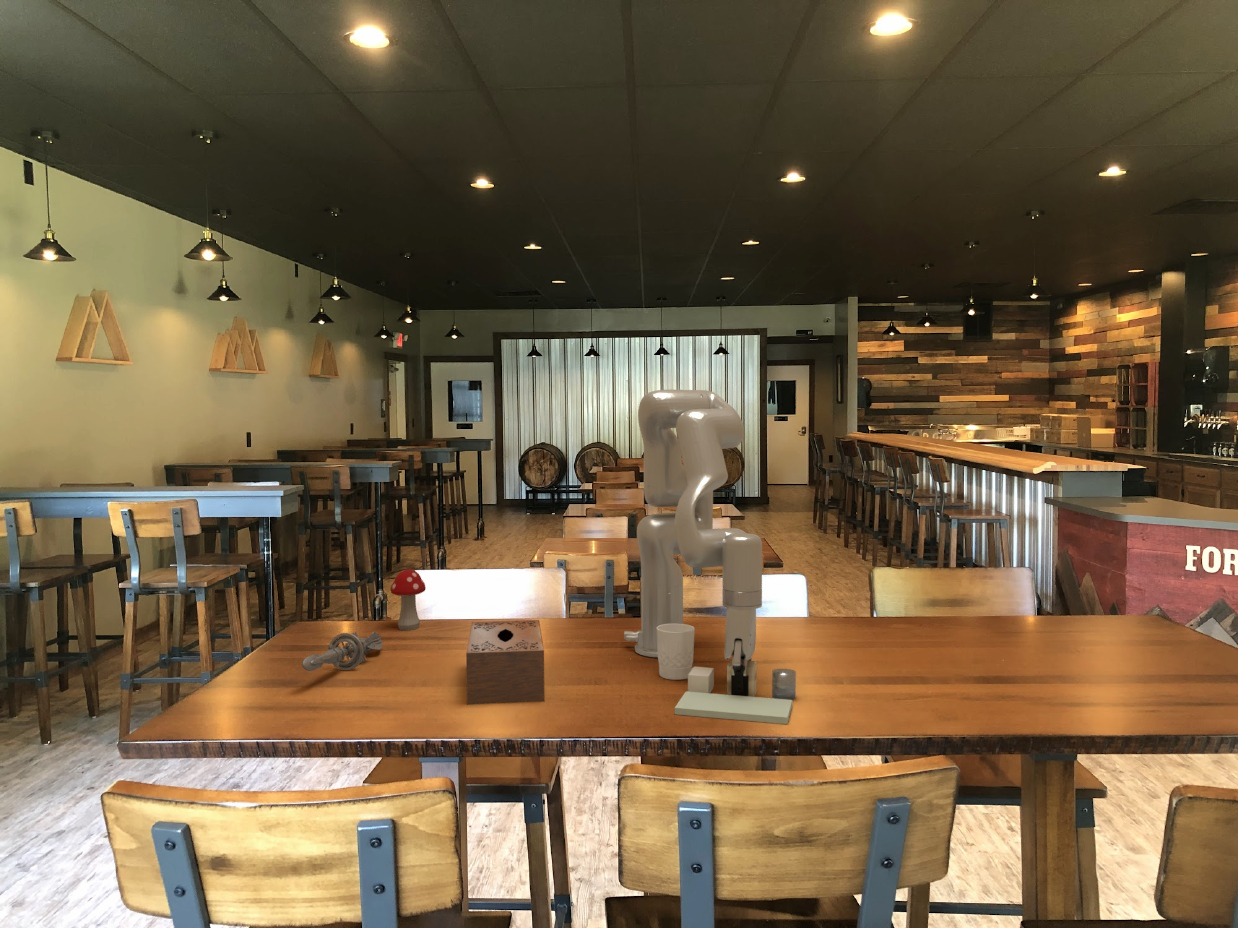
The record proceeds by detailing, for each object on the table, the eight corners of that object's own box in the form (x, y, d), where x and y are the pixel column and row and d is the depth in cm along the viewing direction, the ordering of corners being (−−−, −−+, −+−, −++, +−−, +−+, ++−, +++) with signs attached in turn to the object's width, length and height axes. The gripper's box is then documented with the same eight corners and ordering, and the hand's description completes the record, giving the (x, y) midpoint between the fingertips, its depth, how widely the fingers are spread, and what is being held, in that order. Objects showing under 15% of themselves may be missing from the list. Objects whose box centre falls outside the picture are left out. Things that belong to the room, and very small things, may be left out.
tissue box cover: (472, 667, 191) (471, 621, 191) (539, 665, 193) (539, 619, 193) (466, 705, 166) (466, 653, 165) (544, 702, 168) (544, 650, 167)
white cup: (698, 671, 187) (698, 624, 186) (689, 682, 179) (689, 633, 179) (662, 668, 189) (662, 622, 189) (651, 678, 182) (651, 630, 181)
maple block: (727, 696, 170) (727, 665, 169) (730, 689, 175) (731, 659, 174) (753, 699, 168) (753, 667, 168) (756, 691, 173) (756, 660, 173)
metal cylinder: (770, 700, 168) (771, 673, 168) (773, 693, 172) (773, 667, 172) (794, 702, 167) (794, 675, 166) (796, 695, 171) (796, 669, 171)
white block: (687, 695, 171) (687, 674, 171) (693, 686, 177) (693, 666, 177) (708, 696, 170) (708, 676, 170) (713, 687, 176) (713, 667, 176)
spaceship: (279, 653, 173) (315, 638, 172) (359, 630, 207) (389, 618, 206) (292, 692, 172) (328, 677, 171) (370, 662, 206) (400, 650, 205)
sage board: (674, 714, 160) (674, 707, 160) (685, 697, 169) (685, 691, 169) (787, 724, 154) (787, 717, 154) (792, 706, 164) (792, 699, 164)
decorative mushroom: (400, 622, 233) (399, 565, 232) (431, 623, 232) (430, 566, 231) (385, 631, 223) (384, 572, 223) (417, 632, 222) (417, 573, 221)
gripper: (729, 589, 180) (729, 677, 181) (715, 606, 163) (715, 703, 164) (766, 590, 178) (766, 680, 179) (756, 608, 161) (755, 706, 162)
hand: (741, 690), depth 171 cm, fingers closed on maple block, 5 cm apart
